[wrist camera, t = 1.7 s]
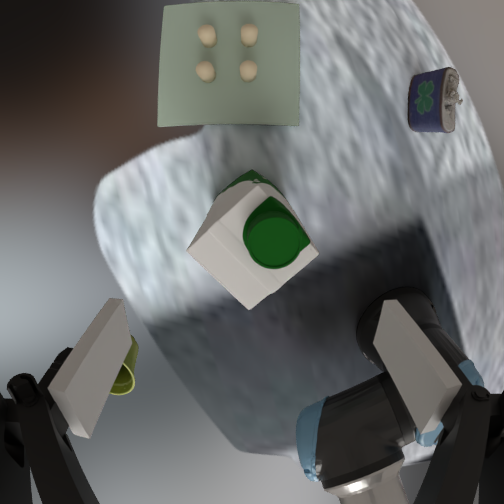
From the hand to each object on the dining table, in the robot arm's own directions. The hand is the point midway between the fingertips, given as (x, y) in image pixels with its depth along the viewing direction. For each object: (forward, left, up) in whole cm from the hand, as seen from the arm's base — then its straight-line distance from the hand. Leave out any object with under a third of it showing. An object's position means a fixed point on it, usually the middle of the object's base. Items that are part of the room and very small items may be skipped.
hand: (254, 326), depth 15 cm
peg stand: (+3, -20, -28) cm, 35 cm away
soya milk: (0, 0, -29) cm, 29 cm away
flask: (-24, -17, -29) cm, 41 cm away
